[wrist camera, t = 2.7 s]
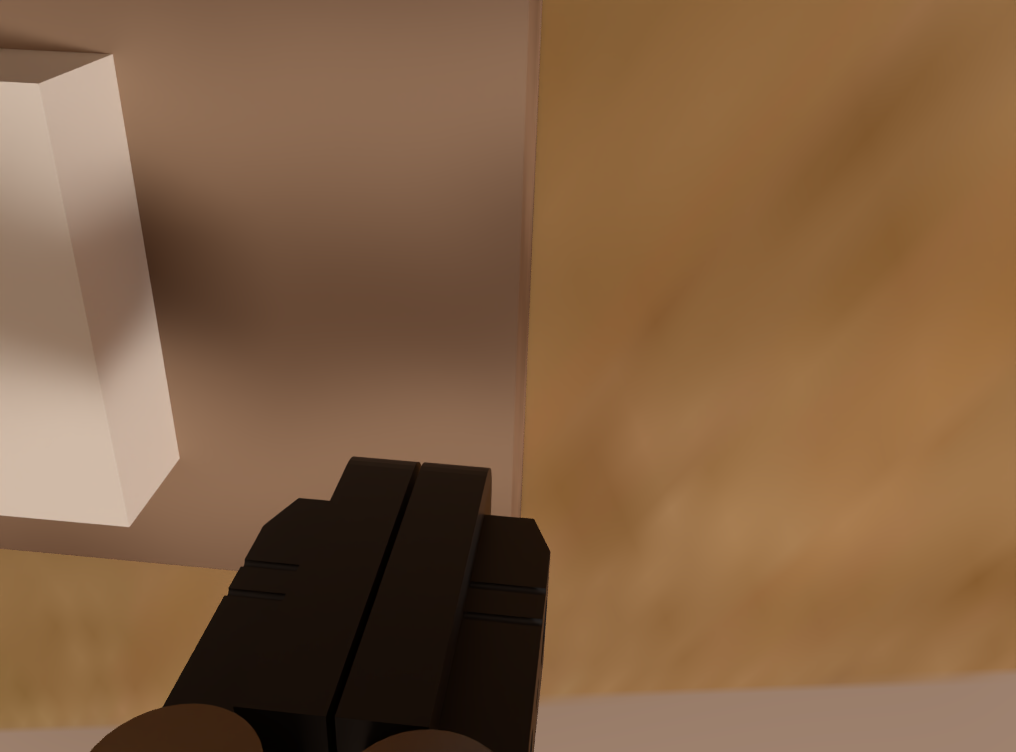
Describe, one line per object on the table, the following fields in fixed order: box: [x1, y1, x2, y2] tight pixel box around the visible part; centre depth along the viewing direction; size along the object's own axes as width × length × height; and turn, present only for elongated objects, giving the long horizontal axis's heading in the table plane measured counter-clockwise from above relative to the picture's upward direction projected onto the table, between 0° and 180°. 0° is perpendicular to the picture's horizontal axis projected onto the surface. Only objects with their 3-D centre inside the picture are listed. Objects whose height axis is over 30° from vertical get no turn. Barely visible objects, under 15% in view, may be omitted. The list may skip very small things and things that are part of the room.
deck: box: [0, 0, 542, 571], centre depth 17 cm, size 12×16×2 cm
